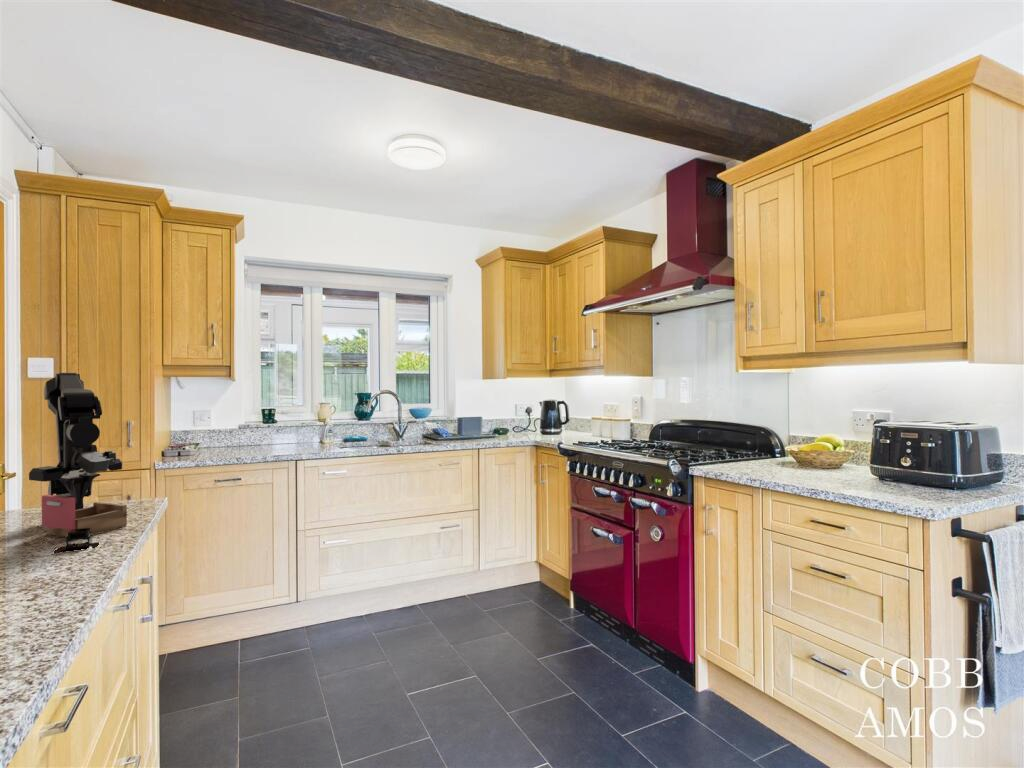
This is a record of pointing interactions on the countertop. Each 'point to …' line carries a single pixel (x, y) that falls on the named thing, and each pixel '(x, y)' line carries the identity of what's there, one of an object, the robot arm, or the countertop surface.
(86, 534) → the black boxy piece
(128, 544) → the countertop surface
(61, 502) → the panel
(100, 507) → the brown wooden drawer
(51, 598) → the countertop surface
